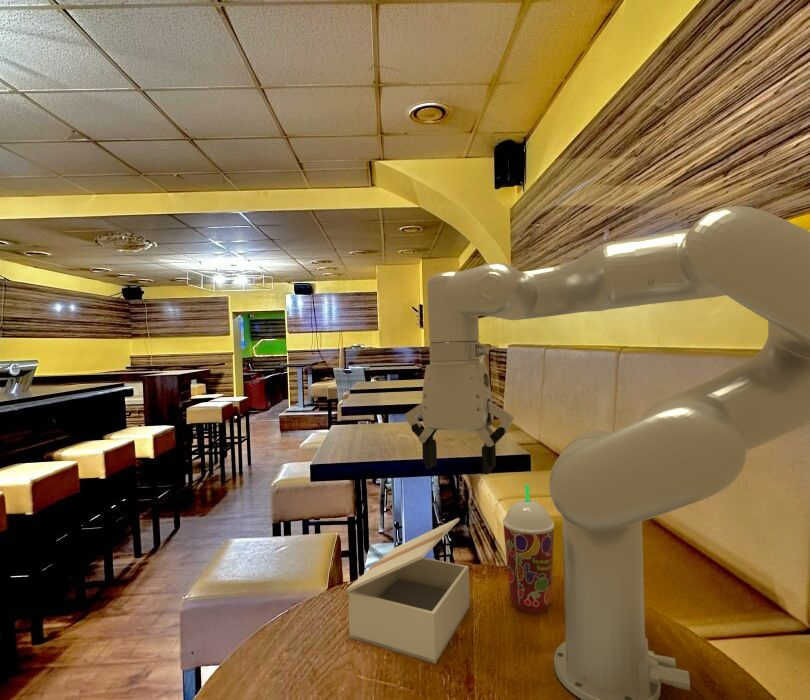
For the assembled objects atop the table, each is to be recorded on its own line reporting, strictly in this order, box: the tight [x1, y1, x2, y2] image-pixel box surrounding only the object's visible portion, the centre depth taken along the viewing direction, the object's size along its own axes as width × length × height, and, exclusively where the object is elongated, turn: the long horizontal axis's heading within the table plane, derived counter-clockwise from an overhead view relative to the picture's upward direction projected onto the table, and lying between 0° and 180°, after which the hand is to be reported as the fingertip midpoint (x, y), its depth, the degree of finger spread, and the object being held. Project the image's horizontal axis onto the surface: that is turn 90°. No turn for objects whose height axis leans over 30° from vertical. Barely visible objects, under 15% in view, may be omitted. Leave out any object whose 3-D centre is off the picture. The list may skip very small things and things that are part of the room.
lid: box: [346, 517, 461, 593], centre depth 72 cm, size 14×16×1 cm
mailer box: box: [347, 556, 471, 664], centre depth 71 cm, size 14×15×7 cm
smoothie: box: [502, 483, 555, 614], centre depth 75 cm, size 8×8×20 cm
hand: (458, 469), depth 68 cm, fingers open, 8 cm apart
